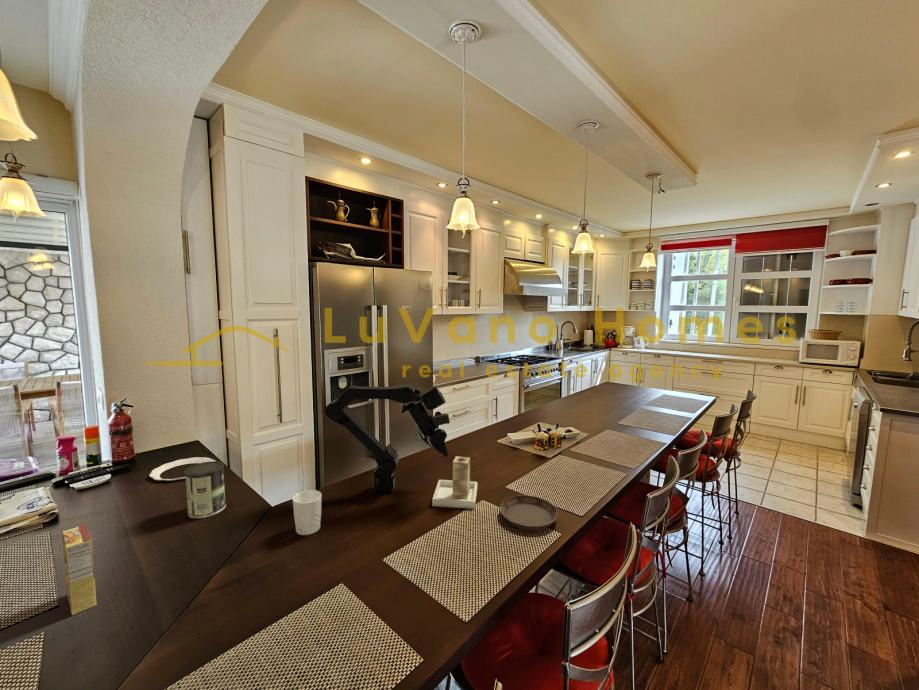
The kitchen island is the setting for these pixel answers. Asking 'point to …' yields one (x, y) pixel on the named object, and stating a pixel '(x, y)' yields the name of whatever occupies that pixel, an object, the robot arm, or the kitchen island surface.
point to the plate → (156, 472)
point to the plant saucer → (528, 512)
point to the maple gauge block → (461, 478)
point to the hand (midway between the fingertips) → (443, 453)
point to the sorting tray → (445, 496)
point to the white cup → (307, 511)
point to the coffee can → (205, 489)
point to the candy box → (79, 569)
